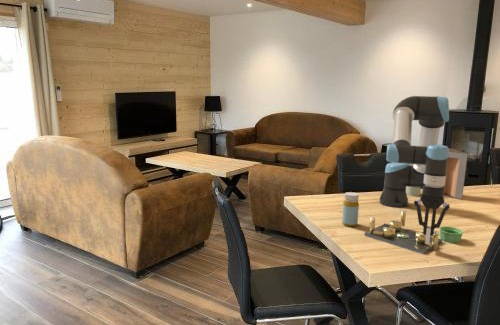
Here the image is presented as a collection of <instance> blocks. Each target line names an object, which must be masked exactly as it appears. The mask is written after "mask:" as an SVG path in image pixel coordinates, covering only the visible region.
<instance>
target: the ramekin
mask: <svg viewBox="0 0 500 325" xmlns="http://www.w3.org/2000/svg"><path fill="white" fill-rule="evenodd" d="M463 234H464V231H463V230H462V229H460V228H457V227H455V226H454V227H452V226H440V227H439V239H442V242H446V243H449V244H457V243H461V241H462V236H463Z"/></svg>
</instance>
